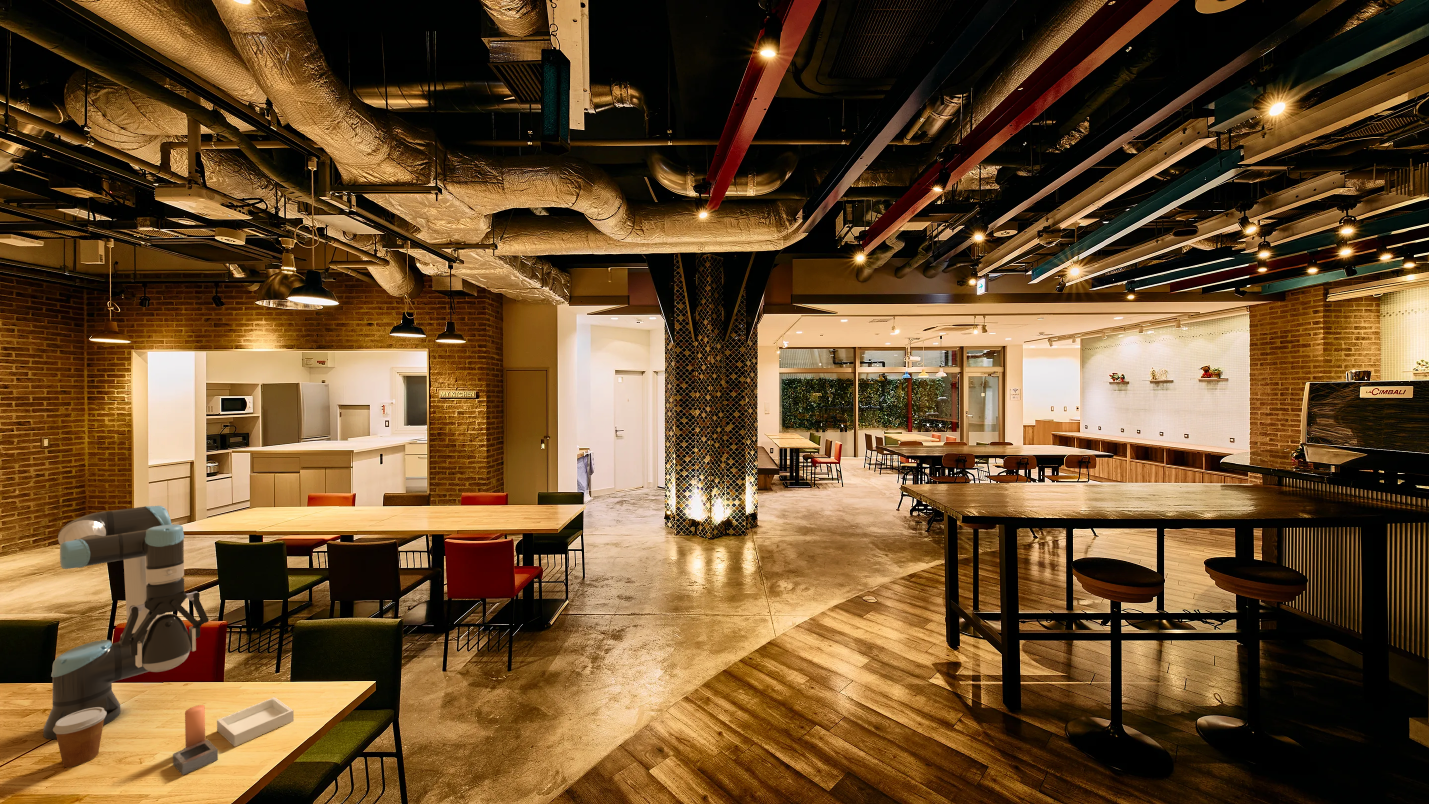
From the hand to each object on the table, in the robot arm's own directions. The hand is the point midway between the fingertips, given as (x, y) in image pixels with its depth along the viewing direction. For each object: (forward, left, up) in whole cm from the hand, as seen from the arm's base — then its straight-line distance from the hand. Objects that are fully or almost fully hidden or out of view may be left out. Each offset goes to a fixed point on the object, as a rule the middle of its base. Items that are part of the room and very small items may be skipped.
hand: (166, 657), depth 150 cm
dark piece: (0, 0, -3) cm, 3 cm away
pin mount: (+15, +2, -26) cm, 30 cm away
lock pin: (+8, +4, -25) cm, 27 cm away
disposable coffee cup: (-14, -14, -26) cm, 33 cm away
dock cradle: (+9, +17, -26) cm, 32 cm away
